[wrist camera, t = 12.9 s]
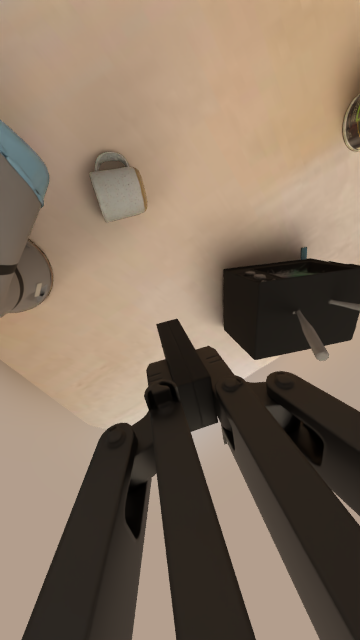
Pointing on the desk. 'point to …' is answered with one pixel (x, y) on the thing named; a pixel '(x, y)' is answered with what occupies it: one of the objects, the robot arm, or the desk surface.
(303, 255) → the tape line
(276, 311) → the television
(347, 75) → the desk surface
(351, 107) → the coffee can
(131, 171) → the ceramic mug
